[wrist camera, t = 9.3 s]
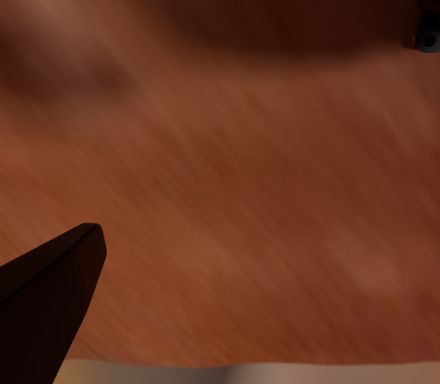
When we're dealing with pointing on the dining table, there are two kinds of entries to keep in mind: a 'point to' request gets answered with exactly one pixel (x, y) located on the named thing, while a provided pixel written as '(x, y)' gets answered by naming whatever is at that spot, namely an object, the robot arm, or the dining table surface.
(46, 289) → the robot arm
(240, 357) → the dining table surface
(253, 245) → the dining table surface
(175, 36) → the dining table surface
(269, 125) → the dining table surface
